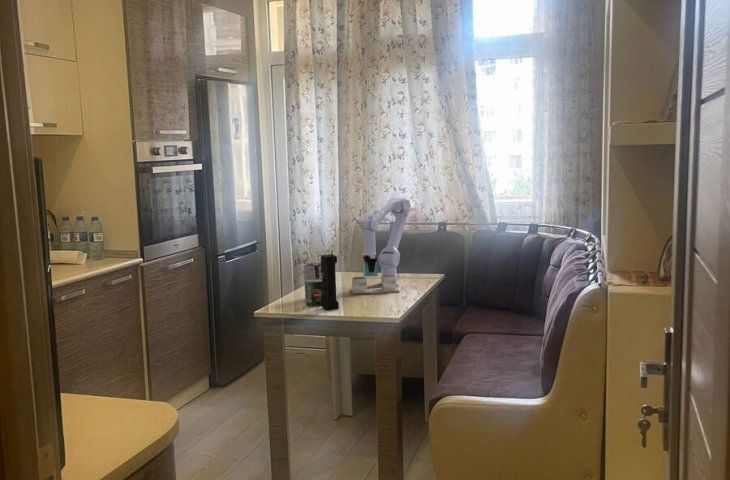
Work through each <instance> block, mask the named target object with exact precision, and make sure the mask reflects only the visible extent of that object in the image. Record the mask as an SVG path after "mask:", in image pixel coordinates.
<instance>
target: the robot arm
mask: <svg viewBox="0 0 730 480" xmlns="http://www.w3.org/2000/svg"><path fill="white" fill-rule="evenodd" d="M411 207H412V206H411V201H410V200H409V199H408V198H407V197H404V198H403V197H402V198H401V197H400V198H398V197H397V198H396V197H391V198H389V199H388V200H387V202H386V204H385V205H384V206H383V207H382V208H381V209H380V210H374V211H373V213H372V214H371V215H369V216H368V217H367V218H363V219H362V220H361V221H360V225H359V227H360V228H361V233H362V235H363V252H361V255H364V256H362V259H363V260H364V263H365V262H367V264H368V269H369V272H370V273H372V272H374V269H375V264H376V263H377V264H378V265H379V266H380V268H381V270H380V271H381V272H380V275H381V276H383V275H394V276H396V286H399V285H400V284H399V283H398V280H397V278H398V277H397V267H398V266H399V264H400V261H401V260H400V259H401V258H400V257H401V253H400V251H399V250H398V248H399V245H400V242H401V239H402V236H403V233H404V229H405V227H406V223H407V219H408V216H409V212H410V210H411ZM389 213H391V214H392V216H393V217H395V220H394V221H393V222H394V223H393V226H392V229H391V232H390V235H389V239H388V241H387V245H386V246H385V247H384V248H382V249H381V252H380V253H379V254H378V257H376V255H377V252H376V251H377V248H376V246H377V245H376V244H377V243H376V242H377V241H376V230H377V229H378V227H379V224H381V223H382V222H383V221H384V220H385V218H386V216H387V215H389ZM381 276H380V277H381ZM379 284H380V285H381V286H382V280H380V281H379Z"/></svg>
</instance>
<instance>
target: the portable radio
mask: <svg viewBox="0 0 730 480" xmlns="http://www.w3.org/2000/svg"><path fill="white" fill-rule="evenodd" d="M320 263H321V274H322V283H321V306H320V307H321V308H322V309H323V310H325V311H327V312H328V311H336V310H339V309H340V304H339V301H338V299H337V280H336V279H337V277H336V275H337V274H336V264H337V263H338V256H337V255H335V254H333V249H332V250H331V254H321V256H320Z"/></svg>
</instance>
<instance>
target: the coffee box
mask: <svg viewBox="0 0 730 480" xmlns="http://www.w3.org/2000/svg"><path fill="white" fill-rule="evenodd" d="M303 271H304V273H303V274H304V275H303V276H304V280H303V281H305V280H308V279H322V274H321V262H313V263H311V262H309V263H307V264H305V265H304V266H303ZM304 300H305V302H306V285H305V284H304Z"/></svg>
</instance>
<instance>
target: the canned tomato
mask: <svg viewBox="0 0 730 480" xmlns="http://www.w3.org/2000/svg"><path fill="white" fill-rule="evenodd" d="M321 283H322V279H308V280H304V286H305V285H306V301H305V302H306V304H305V305H306V307H309V308H318V307H321Z"/></svg>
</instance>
